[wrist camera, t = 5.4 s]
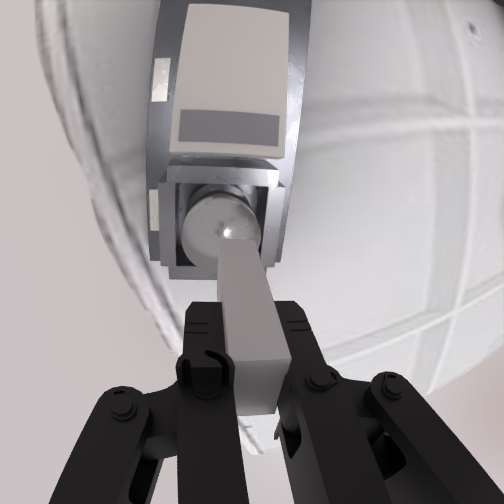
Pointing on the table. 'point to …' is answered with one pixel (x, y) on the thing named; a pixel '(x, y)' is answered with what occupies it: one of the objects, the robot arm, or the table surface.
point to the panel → (210, 166)
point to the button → (216, 223)
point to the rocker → (231, 83)
